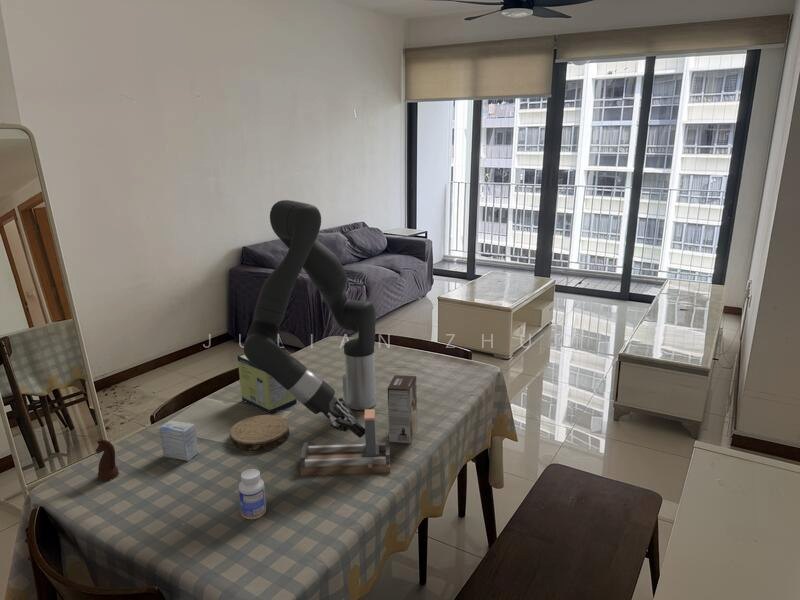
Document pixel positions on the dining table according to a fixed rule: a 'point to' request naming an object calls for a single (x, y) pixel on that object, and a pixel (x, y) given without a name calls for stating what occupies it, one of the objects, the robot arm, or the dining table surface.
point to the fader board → (343, 459)
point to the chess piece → (106, 461)
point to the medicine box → (179, 440)
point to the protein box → (262, 388)
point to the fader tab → (370, 435)
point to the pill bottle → (252, 494)
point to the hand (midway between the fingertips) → (363, 434)
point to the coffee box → (402, 408)
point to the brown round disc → (259, 433)
